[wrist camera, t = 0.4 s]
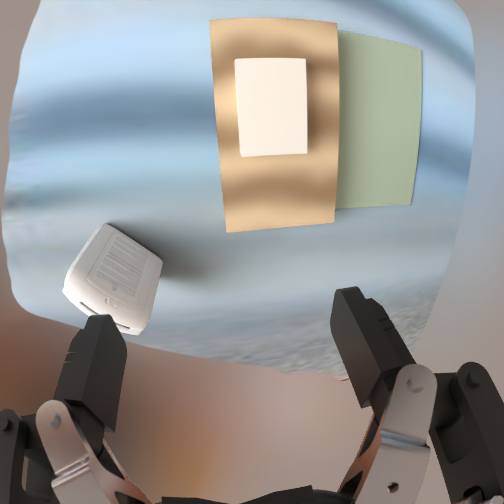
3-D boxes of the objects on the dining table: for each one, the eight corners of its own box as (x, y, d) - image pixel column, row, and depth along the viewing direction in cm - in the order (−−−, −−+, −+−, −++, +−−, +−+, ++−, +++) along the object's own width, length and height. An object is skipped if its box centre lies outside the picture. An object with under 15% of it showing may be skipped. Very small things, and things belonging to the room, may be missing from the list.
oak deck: (210, 28, 23) (209, 20, 19) (322, 29, 23) (336, 23, 20) (225, 217, 34) (226, 232, 31) (322, 208, 35) (333, 222, 32)
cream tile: (234, 61, 22) (235, 58, 20) (299, 60, 22) (305, 58, 20) (240, 152, 27) (241, 157, 25) (301, 149, 27) (307, 153, 25)
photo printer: (89, 241, 33) (51, 303, 23) (102, 216, 32) (62, 276, 22) (152, 280, 38) (136, 351, 27) (168, 259, 36) (155, 330, 26)
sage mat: (326, 30, 24) (328, 29, 23) (419, 49, 25) (421, 49, 24) (326, 208, 35) (327, 209, 35) (408, 203, 36) (410, 204, 36)
